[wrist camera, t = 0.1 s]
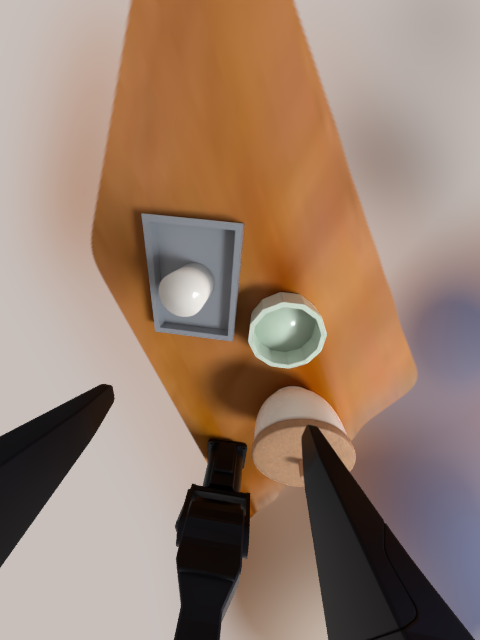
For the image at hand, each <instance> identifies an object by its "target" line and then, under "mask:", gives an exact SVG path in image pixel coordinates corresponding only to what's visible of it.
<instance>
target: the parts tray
mask: <svg viewBox="0 0 480 640" xmlns="http://www.w3.org/2000/svg"><path fill="white" fill-rule="evenodd" d="M141 215H142V223H143V232H144V240H145V249H146V257H147V266H148V274H149V283H150V291H151V300H152V308H153V317H154V325H155V331H156V332H164V333H172V334H179V335H187V336H195V337H203V338H210V339H218V340H226V341H233V338H234V334H235V324H236V313H237V302H238V291H239V279H240V268H241V257H242V246H243V235H244V223H235V222H225V221H215V220H205V219H195V218H185V217H175V216H165V215H155V214H142V213H141ZM189 263H200V264H203V265H205V266H206V267H207V268H208V269H209V270H210V271H211V272H212V274H213V276H214V279H215V288H214V291H213V292H212V294H211V295H210V297H209V298H208V300H207V301H206V302H205V304H204V305H203V307H202V308H201V310H200V311H199V312H198V313H196V314H195V315H193V316H189V317H181V316H177V315H175V314H173V313H171V312H170V311H168V310H167V309H166V308H165V307H164V305H163V304H162V302H161V300H160V297H159V285H160V282H161V281H162V279H163V278H164V277H165V276H167V275H169V274H170V273H172V272H174V271H176V270H177V269H179V268H181V267H183V266H184V265H186V264H189Z"/></svg>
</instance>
